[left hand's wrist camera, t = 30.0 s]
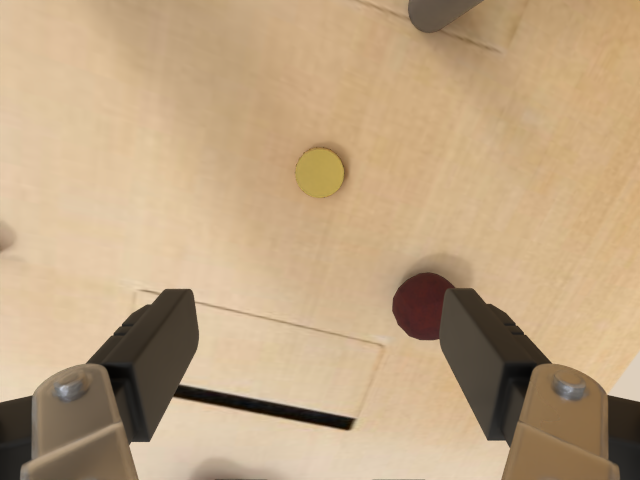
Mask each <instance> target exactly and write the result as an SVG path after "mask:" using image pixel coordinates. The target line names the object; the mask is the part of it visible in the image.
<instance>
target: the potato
mask: <svg viewBox="0 0 640 480" xmlns="http://www.w3.org/2000/svg"><path fill="white" fill-rule="evenodd" d="M448 288H455V287H454V286H453V285H452V284H451V283H450V282H449V281H448V280H446V279H445V278H443V277H441V276H439V275H438V274H434V273H421V274H418V275H416V276H414V277H412V278H410V279H408V280H407V281H406V282H405V283H404V284H402V285H401V286H400V287H399V288H398V290H397V292H396V294H395V296H394V298H393V306H392V311H393V314H394V316H395V318H396V321H397V323H398V325H399V326H400V327H401V328H402V329H403V330H404V331H405V332H406V333H407V334H408V335H409V336H410V337H413V338H416V339H419V340H437V339H439V330H440V323H441V316H442V308H443V301H444V295H445V291H446V290H447V289H448Z"/></svg>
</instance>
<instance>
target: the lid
mask: <svg viewBox="0 0 640 480" xmlns="http://www.w3.org/2000/svg"><path fill="white" fill-rule="evenodd" d="M343 167H344V166H343V165H342V163H341V159H339V157H338V156H337V154H336V153H334V152H333V151H331V149H330V150H329V149H326V148H324V147H323V148H317V147H316V148H313V149H309V150H308V151H307V152H304V153H303V155H302V156H301V158H299V161H298V164H296V171H295V175H296V180H297V183H298V185H299V187H300V188H301V190H302V191H303V192H305V193H306V194H308V195H309V196H312V197H316V198H323V197H328V196H330V195H332V194H334V193H335V192H336V191H337V190H338V189H339V188H340V186H341V184H342V182H343V178H344V174H345V173H344V169H343Z"/></svg>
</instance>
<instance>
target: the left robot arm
mask: <svg viewBox="0 0 640 480" xmlns="http://www.w3.org/2000/svg"><path fill="white" fill-rule="evenodd" d="M439 339H440V345H441V349H442V351H443V353H444V355H445V357H446V359H447V361H448V363H449V365H450V367H451V369H452V371H453V373H454V375H455V377H456V379H457V381H458V383H459V385H460V387H461V389H462V391H463V393H464V395H465V397H466V399H467V401H468V403H469V405H470V407H471V409H472V410H473V412H474V414H475V416H476V418H477V420H478V422H479V424H480V426H481V428H482V430H483V432H484V434H485V436H486V438H487V440H506V442H507V444H508V445H509V447H510V451H509V454H508V458H507V462H506V465H505V469H504V472H503V476H502V479H501V480H640V402H637V401H632V400H628V399H623V398H619V397H614V396H609V395H607V394H606V392H605V391H604V389H603V388H602V387H601V386H600V385H599V384H598V383H597V382H596V381H595V380H593V379H592V378H591V377H589V376H587V375H586V374H584V373H582V372H580V371H578V370H575V369H573V368H570V367H567V366H563V365H559V364H552V363H551V362H550V361H549V360H548V358H547V357H546V356H545V355H544V354H543V353H542V352H541V351H540V350H539V349H538V348H537V346H536V345H535V344H534V343H533V342H532V341H531V340H530V339H529V338H528V337H527V336H526V335H524V332H523V331H522V330H521V329H520V328H519V327H518V326H516V324H515V322H514V321H513V320H512V319H511V318H510V317H509V316H508V315H507V314H506V313H505V312H503V311H502V310H500V309H498V308H497V307H495V306H493V305H492V304H486V303H485V302H484V301H483V300H482V298H481V297H480V296H479V295H478V294H477V293H476V291H475V290H474V289H472V288H448V289H447V290H446V291H445V295H444V301H443V308H442V316H441V323H440V330H439ZM198 341H199V330H198V322H197V315H196V308H195V301H194V295H193V292H192V290H191V289H165V290H164V291H163V292H162V293H161V294H160V295H159V296H158V298H157V299H156V300H155V301H154V302H153V303H152V304H151V305H145V306H144V307H142V308H140V309H139V310H137V311H135V312H134V313H132V314H131V315H130V316H129V317H128V318H127V319H126V321H125V322H124V323H123V324H122V327H119V328H118V329H117V330H116V331H115V332H114V335H113V336H111V337H110V338H109V339H108V340H107V341H106V342H105V343H104V344H103V345H102V347H101V348H100V349H99V350H98V351H97V352H96V353H95V354H94V355H93V356H92V357H91V358H90V359H89V361H88V362H87V363H86V364H81V365H77V366H73V367H70V368H67V369H65V370H62V371H60V372H58V373H56V374H54V375H53V376H51V377H49V378H48V379H47V380H45V381H44V382H43V383H42V384H41V385H40V386H39V387H38V388H37V389H36V391H35V392H34V394H33V395H32V396H28V397H24V398H19V399H15V400H10V401H5V402H1V403H0V480H139V479H138V476H137V472H136V469H135V465H134V462H133V458H132V454H131V451H130V447H129V445H130V443H131V442H150V440H151V438H152V436H153V434H154V432H155V430H156V428H157V426H158V424H159V422H160V420H161V419H162V417H163V415H164V413H165V411H166V409H167V407H168V405H169V403H170V401H171V399H172V397H173V395H174V393H175V391H176V389H177V387H178V385H179V383H180V382H181V380H182V378H183V376H184V374H185V372H186V370H187V368H188V366H189V364H190V362H191V360H192V358H193V356H194V354H195V352H196V350H197V347H198Z"/></svg>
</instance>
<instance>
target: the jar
mask: <svg viewBox="0 0 640 480" xmlns="http://www.w3.org/2000/svg"><path fill="white" fill-rule="evenodd" d="M482 1H483V0H409V6H408V11H409V17H410V19H411V21H412V23H413V25H414V26H415V27H416V28H417V29H419V30H420V31H423V32H428V33H430V32H436V31H438V30H440V29H442V28H443V27H445V26H446V25H448V24H449V23H451V22H452V21H454V20H455V19H457V18H458V17H460V16H461V15H463V14H464V13H466V12H467V11H469V10H470V9H472V8H473V7H475V6H476V5H477V4H479V3H480V2H482Z"/></svg>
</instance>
